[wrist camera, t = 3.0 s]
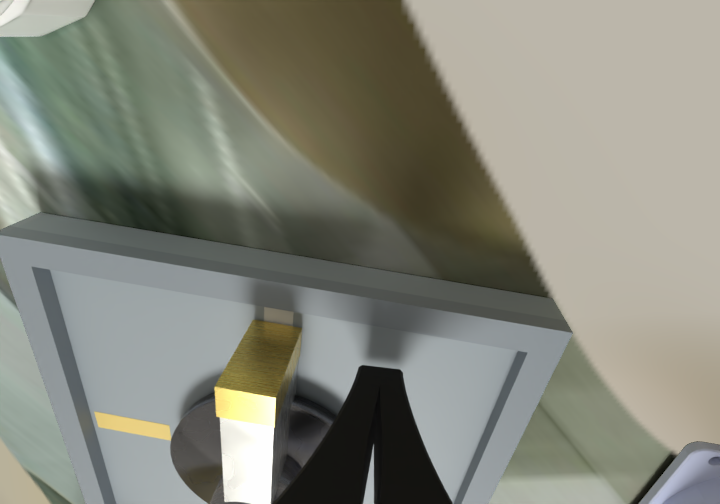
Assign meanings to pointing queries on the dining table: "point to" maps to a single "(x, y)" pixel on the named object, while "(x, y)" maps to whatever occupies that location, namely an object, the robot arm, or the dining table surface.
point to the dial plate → (226, 329)
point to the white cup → (39, 16)
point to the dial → (251, 423)
